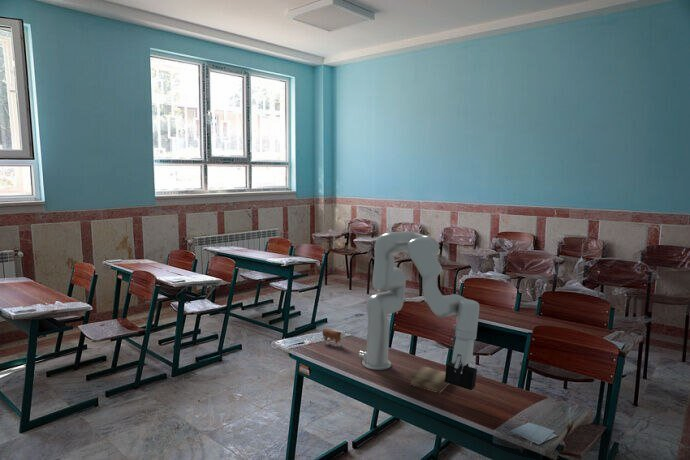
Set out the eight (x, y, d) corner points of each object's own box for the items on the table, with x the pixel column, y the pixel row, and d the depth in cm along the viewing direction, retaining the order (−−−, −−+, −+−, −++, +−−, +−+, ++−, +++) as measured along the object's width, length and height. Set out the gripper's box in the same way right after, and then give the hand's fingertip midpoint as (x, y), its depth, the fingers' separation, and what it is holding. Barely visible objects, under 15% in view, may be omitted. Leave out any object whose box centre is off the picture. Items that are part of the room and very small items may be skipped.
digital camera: (476, 385, 182) (478, 367, 181) (471, 390, 177) (473, 372, 176) (449, 377, 187) (451, 360, 186) (444, 382, 183) (446, 364, 182)
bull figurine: (343, 349, 231) (344, 332, 230) (320, 343, 238) (321, 327, 237) (348, 347, 234) (349, 330, 233) (325, 341, 241) (326, 324, 241)
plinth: (409, 385, 194) (410, 375, 194) (422, 374, 205) (423, 365, 204) (440, 393, 187) (440, 383, 187) (451, 382, 198) (452, 373, 198)
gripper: (463, 325, 189) (458, 370, 191) (447, 337, 174) (442, 385, 177) (482, 330, 185) (477, 375, 187) (468, 342, 171) (462, 391, 173)
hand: (460, 379), depth 182 cm, fingers closed on digital camera, 5 cm apart
